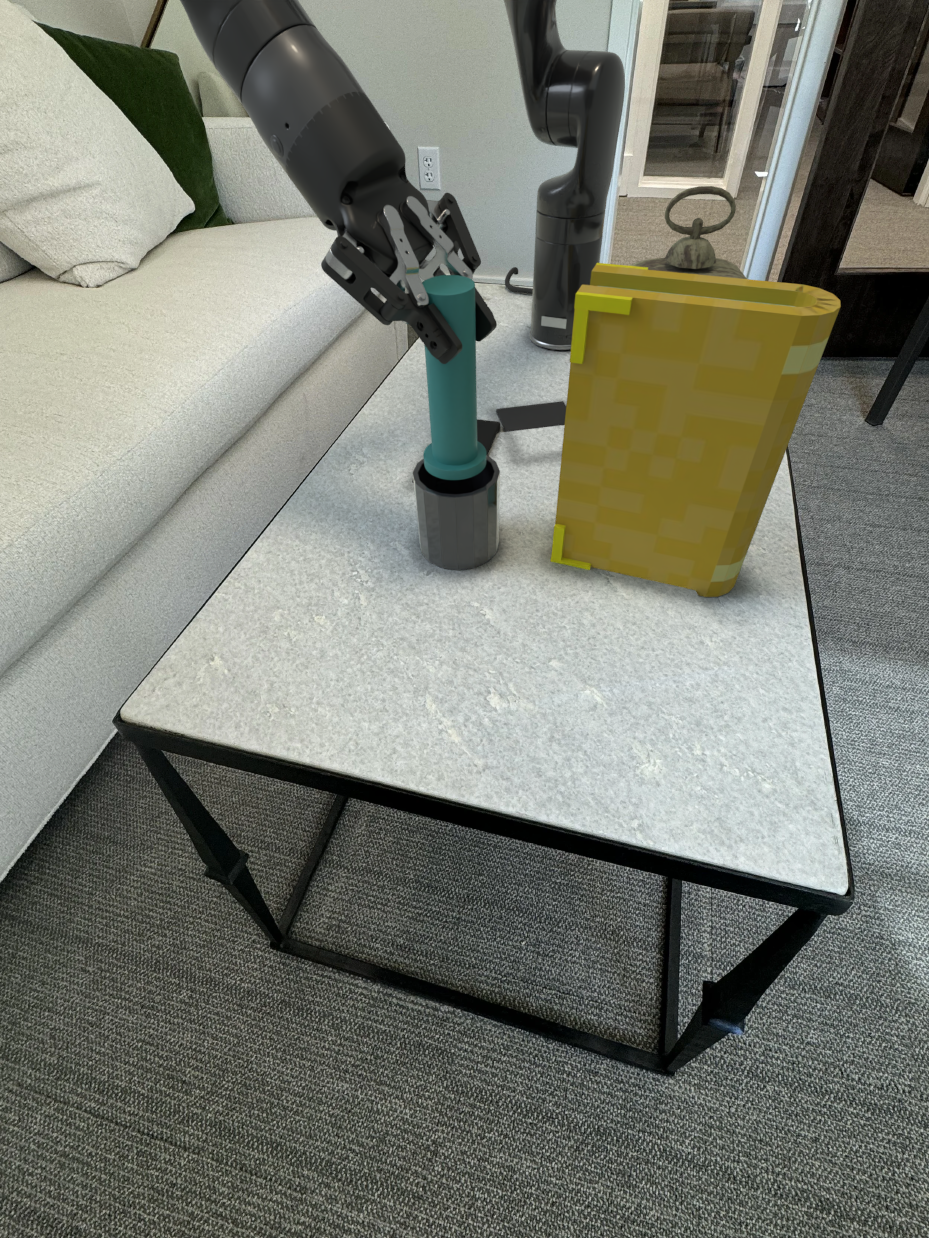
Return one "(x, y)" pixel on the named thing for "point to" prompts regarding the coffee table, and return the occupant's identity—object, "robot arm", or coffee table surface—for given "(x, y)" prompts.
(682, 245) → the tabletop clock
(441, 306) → the dowel
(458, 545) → the cup
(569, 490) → the book
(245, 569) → the coffee table surface
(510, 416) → the mat
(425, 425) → the coffee table surface
